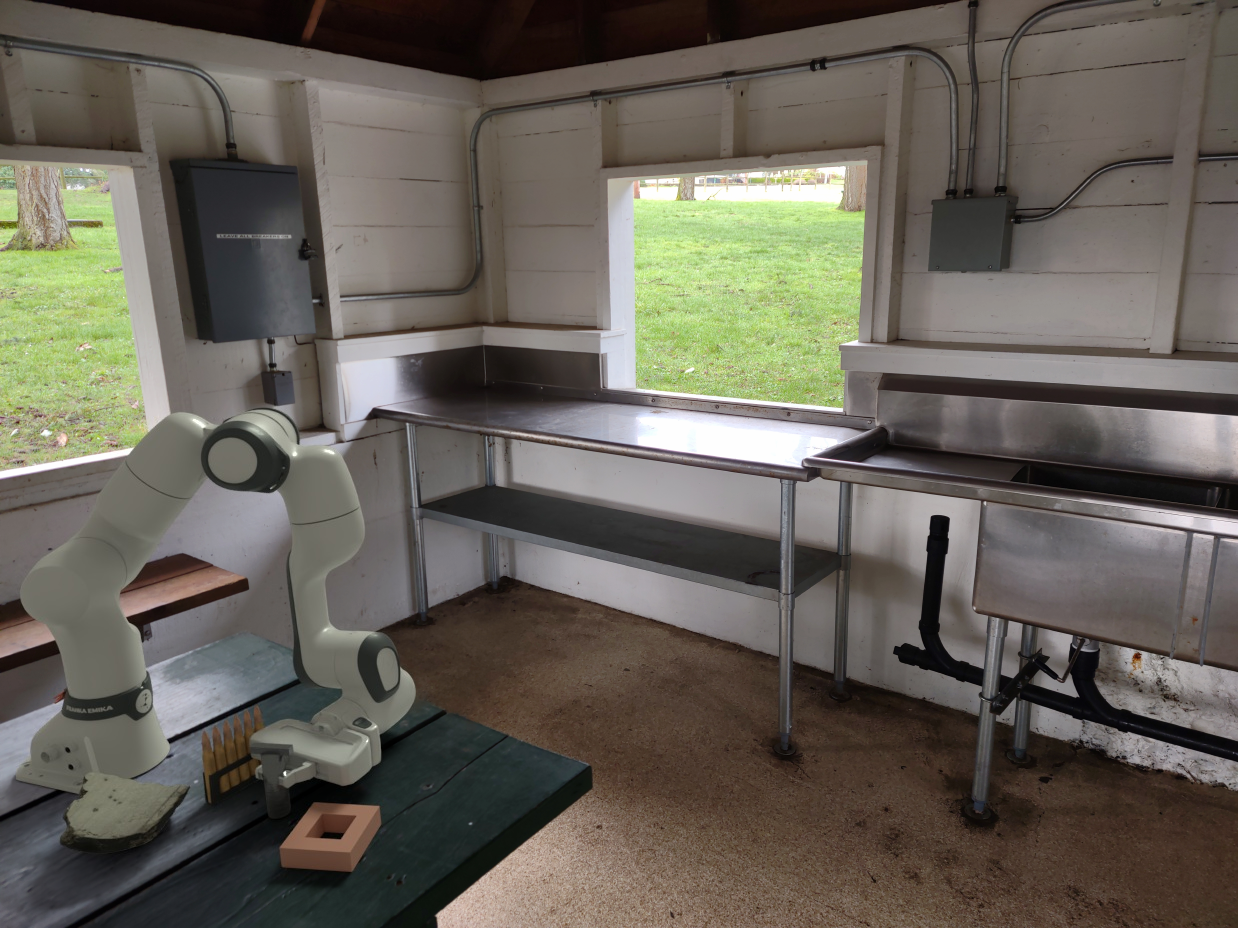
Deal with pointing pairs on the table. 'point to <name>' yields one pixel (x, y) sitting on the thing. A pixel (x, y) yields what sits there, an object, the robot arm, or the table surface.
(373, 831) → the orange square frame
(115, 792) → the concrete fragment
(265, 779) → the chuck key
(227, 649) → the table surface
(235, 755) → the ammunition clip
